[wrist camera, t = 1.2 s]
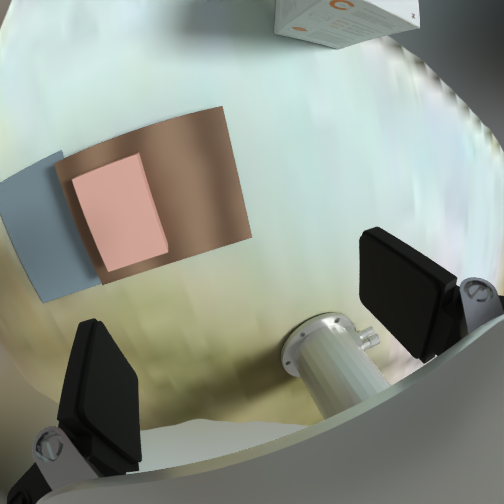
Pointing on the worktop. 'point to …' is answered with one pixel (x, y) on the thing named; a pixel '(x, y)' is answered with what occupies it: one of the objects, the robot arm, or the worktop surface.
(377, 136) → the worktop surface
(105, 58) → the worktop surface
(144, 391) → the worktop surface
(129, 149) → the platform
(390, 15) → the small box
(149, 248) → the tile
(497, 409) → the robot arm
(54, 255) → the mat
